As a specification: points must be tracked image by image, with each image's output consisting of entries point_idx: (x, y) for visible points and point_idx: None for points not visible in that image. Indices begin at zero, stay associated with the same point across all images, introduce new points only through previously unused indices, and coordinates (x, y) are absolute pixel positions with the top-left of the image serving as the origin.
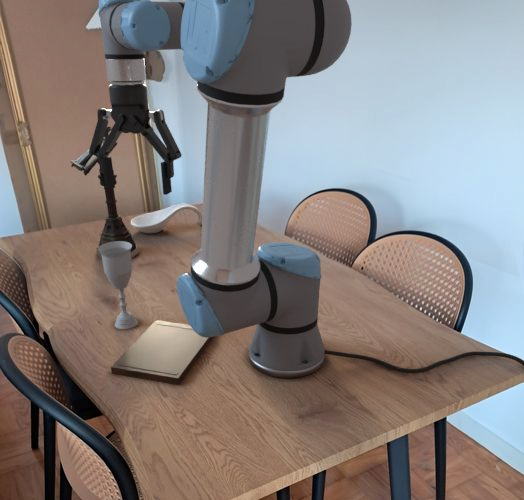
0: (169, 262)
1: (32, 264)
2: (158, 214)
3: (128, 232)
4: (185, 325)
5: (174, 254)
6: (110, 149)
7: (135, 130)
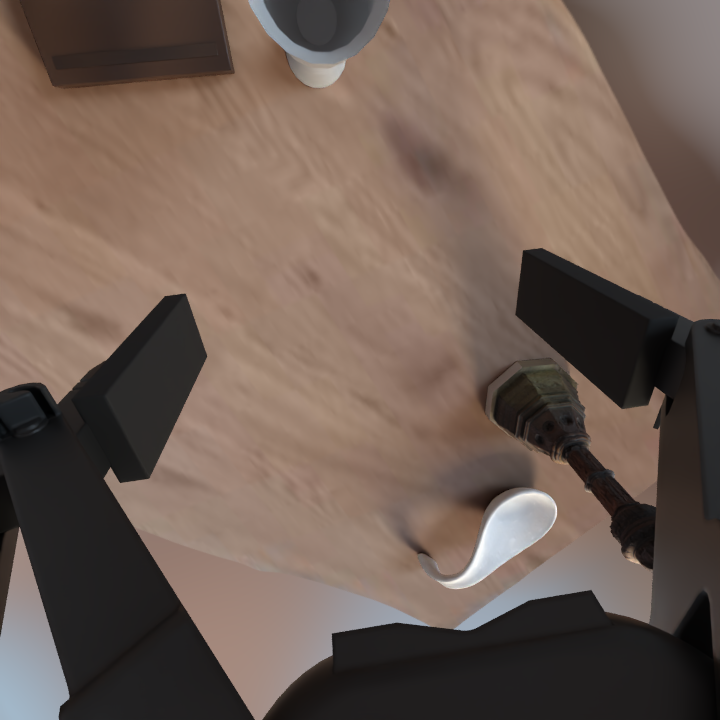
0: (399, 398)
1: (695, 276)
2: (512, 545)
3: (522, 437)
4: (137, 70)
5: (409, 433)
6: (663, 437)
7: (361, 694)
